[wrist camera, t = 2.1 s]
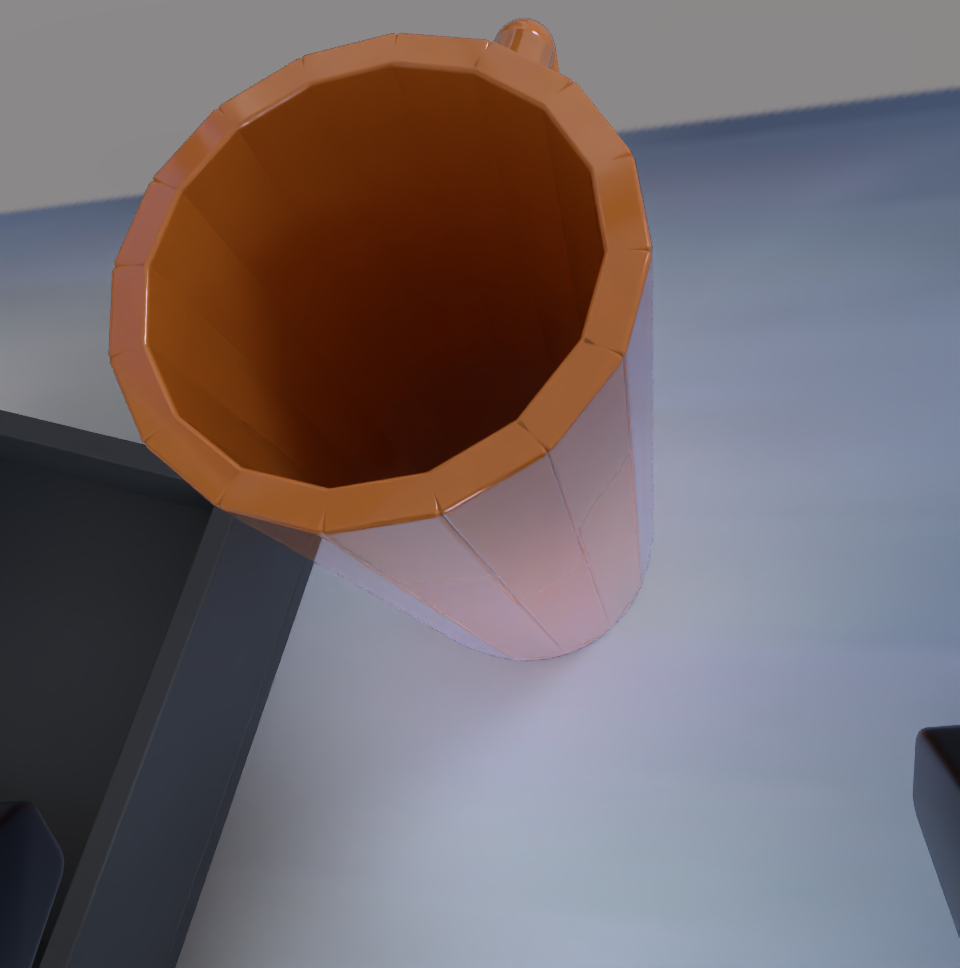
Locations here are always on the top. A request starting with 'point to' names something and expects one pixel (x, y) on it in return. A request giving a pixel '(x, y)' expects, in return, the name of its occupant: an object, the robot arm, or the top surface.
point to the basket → (128, 679)
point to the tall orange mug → (410, 332)
